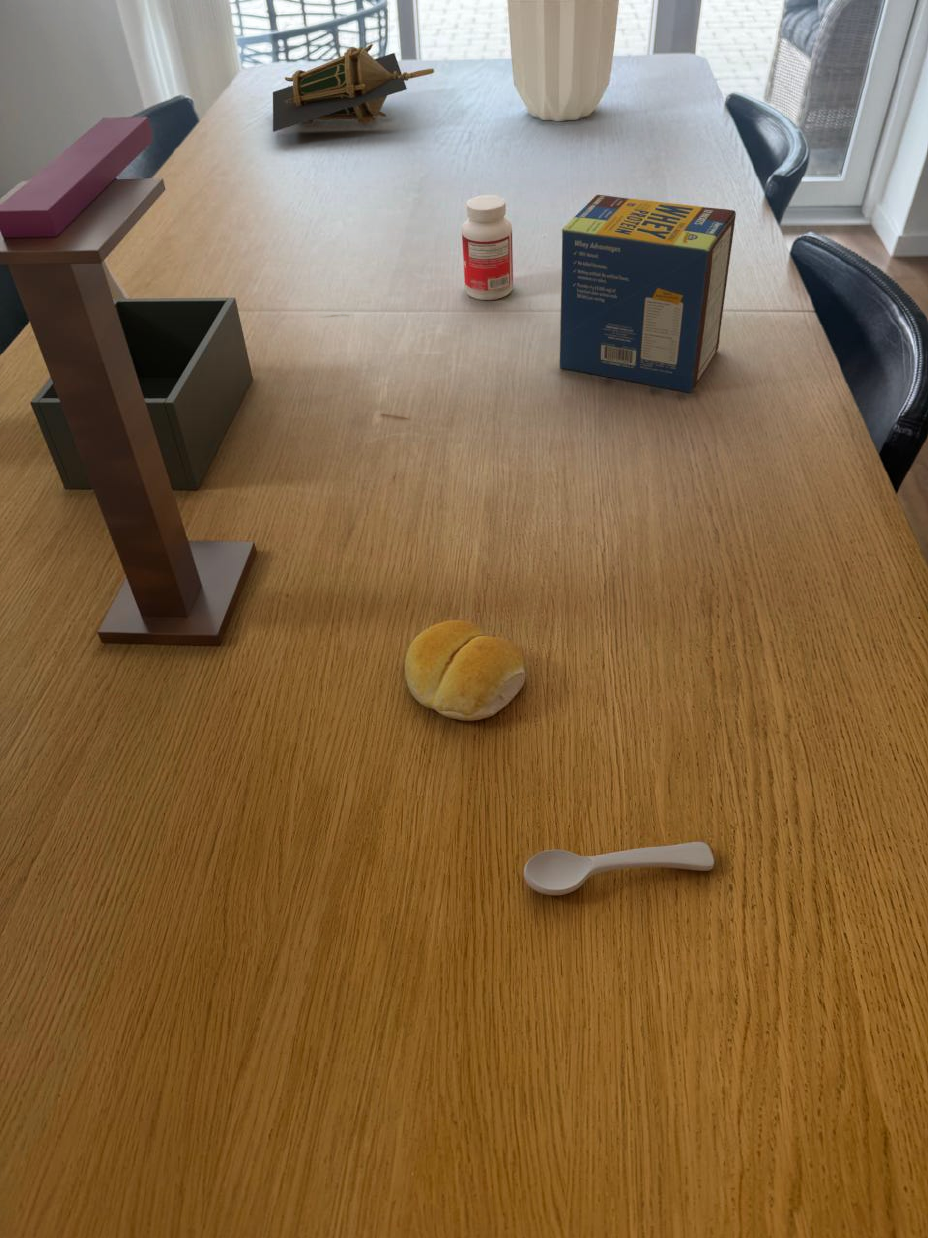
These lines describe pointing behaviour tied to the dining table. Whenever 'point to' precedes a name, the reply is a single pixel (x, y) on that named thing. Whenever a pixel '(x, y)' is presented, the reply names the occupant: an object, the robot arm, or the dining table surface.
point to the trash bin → (169, 384)
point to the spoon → (608, 864)
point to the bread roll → (463, 670)
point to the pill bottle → (487, 249)
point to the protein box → (644, 290)
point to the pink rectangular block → (74, 178)
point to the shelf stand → (121, 429)
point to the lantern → (341, 89)
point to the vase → (562, 54)
